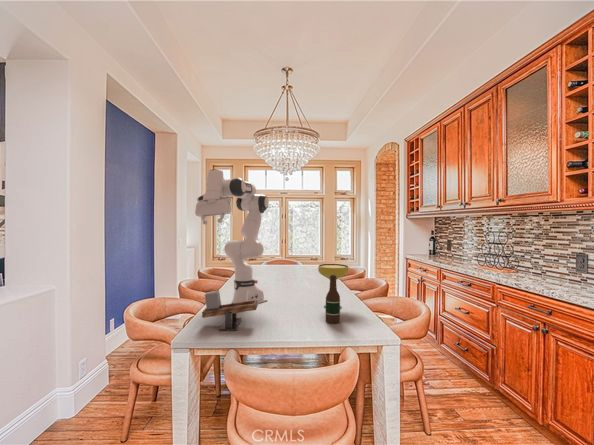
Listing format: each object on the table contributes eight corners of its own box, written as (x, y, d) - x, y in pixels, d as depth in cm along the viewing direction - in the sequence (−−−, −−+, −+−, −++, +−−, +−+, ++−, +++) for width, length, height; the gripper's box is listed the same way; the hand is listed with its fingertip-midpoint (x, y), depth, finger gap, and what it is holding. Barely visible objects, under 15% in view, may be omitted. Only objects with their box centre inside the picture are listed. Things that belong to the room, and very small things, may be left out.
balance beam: (202, 319, 160) (201, 312, 160) (208, 313, 171) (207, 306, 171) (256, 311, 161) (255, 304, 161) (258, 305, 171) (257, 299, 171)
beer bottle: (327, 324, 169) (328, 277, 169) (323, 319, 176) (323, 274, 176) (342, 323, 170) (342, 276, 170) (337, 318, 178) (338, 274, 178)
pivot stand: (219, 330, 157) (219, 314, 157) (226, 319, 174) (226, 304, 174) (236, 330, 158) (236, 314, 157) (241, 320, 174) (241, 304, 174)
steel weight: (207, 312, 163) (204, 294, 163) (209, 310, 168) (207, 292, 168) (219, 311, 163) (216, 292, 163) (221, 308, 168) (219, 290, 168)
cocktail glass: (349, 311, 192) (350, 268, 192) (318, 311, 193) (318, 267, 192) (345, 303, 210) (346, 264, 210) (317, 303, 211) (317, 263, 210)
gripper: (234, 197, 175) (232, 223, 172) (201, 201, 183) (200, 226, 180) (227, 194, 170) (225, 220, 166) (194, 198, 177) (192, 223, 174)
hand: (212, 223), depth 173 cm, fingers open, 8 cm apart
